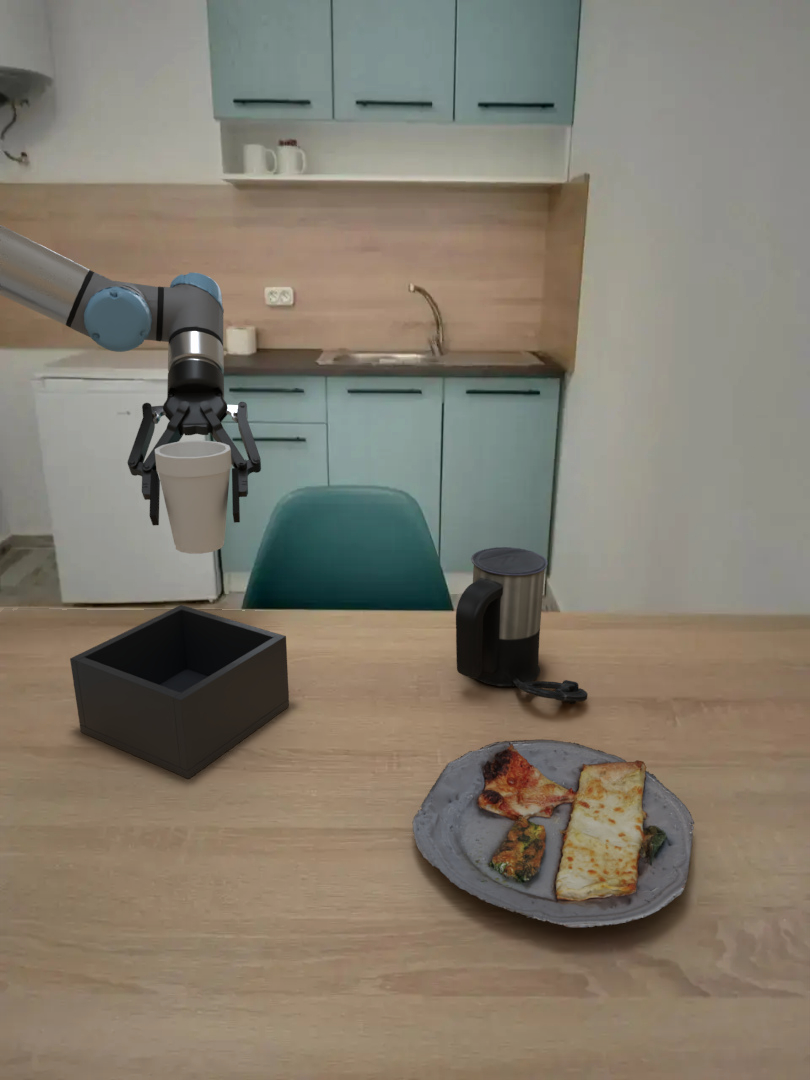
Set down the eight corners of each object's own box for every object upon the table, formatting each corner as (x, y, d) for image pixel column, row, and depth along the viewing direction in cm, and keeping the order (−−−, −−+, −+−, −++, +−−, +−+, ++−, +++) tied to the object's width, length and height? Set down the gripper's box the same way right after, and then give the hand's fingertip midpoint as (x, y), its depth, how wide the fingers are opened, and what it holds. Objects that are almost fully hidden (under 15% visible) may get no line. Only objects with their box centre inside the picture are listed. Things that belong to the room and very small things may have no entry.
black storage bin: (80, 732, 90) (69, 658, 87) (187, 670, 103) (181, 604, 100) (188, 779, 82) (180, 700, 79) (289, 706, 95) (286, 635, 92)
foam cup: (249, 547, 109) (244, 450, 105) (185, 563, 103) (177, 462, 99) (212, 528, 116) (206, 437, 111) (150, 543, 110) (141, 447, 105)
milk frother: (477, 647, 109) (482, 541, 104) (598, 668, 104) (609, 558, 99) (444, 700, 97) (447, 583, 92) (580, 727, 92) (591, 604, 86)
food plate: (473, 735, 90) (474, 707, 89) (698, 787, 81) (703, 757, 80) (378, 893, 68) (378, 858, 67) (673, 986, 60) (678, 948, 59)
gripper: (277, 389, 119) (283, 528, 110) (117, 390, 116) (110, 535, 107) (276, 356, 113) (283, 502, 103) (107, 357, 109) (98, 508, 100)
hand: (195, 519), depth 105 cm, fingers closed on foam cup, 9 cm apart
